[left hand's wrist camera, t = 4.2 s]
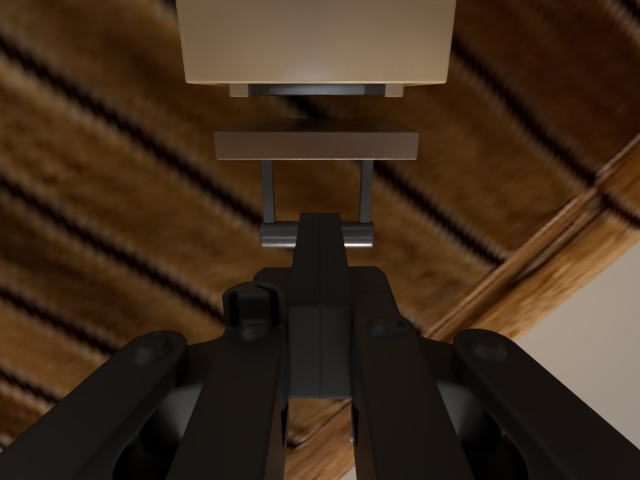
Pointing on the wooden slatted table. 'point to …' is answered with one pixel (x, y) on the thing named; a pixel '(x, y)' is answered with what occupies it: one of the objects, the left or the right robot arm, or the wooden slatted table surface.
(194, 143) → the wooden slatted table surface
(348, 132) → the drawer
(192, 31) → the cabinet
